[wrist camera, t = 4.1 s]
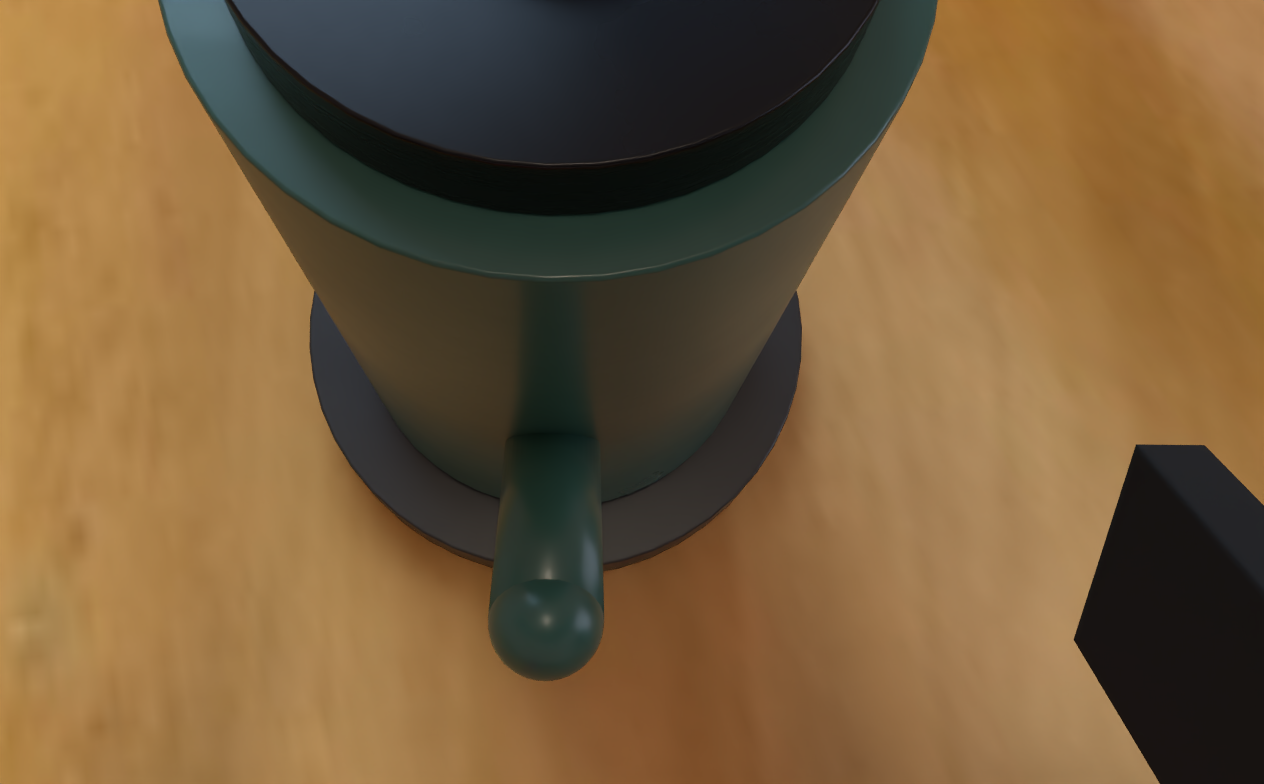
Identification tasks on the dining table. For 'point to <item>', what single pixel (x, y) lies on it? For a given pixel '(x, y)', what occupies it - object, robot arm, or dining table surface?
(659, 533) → the kettle base
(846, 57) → the kettle
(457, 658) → the dining table surface
